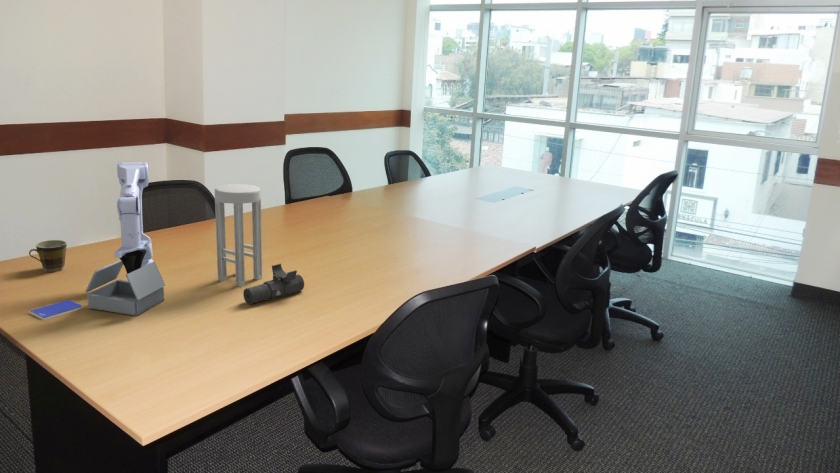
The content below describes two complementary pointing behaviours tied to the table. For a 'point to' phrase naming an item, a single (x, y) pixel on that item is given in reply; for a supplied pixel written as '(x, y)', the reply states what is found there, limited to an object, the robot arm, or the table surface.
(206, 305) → the table surface
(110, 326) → the table surface
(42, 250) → the ceramic cup
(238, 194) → the stool
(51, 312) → the hard drive
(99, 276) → the flap
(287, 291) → the laser sight
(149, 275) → the flap
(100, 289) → the carton
